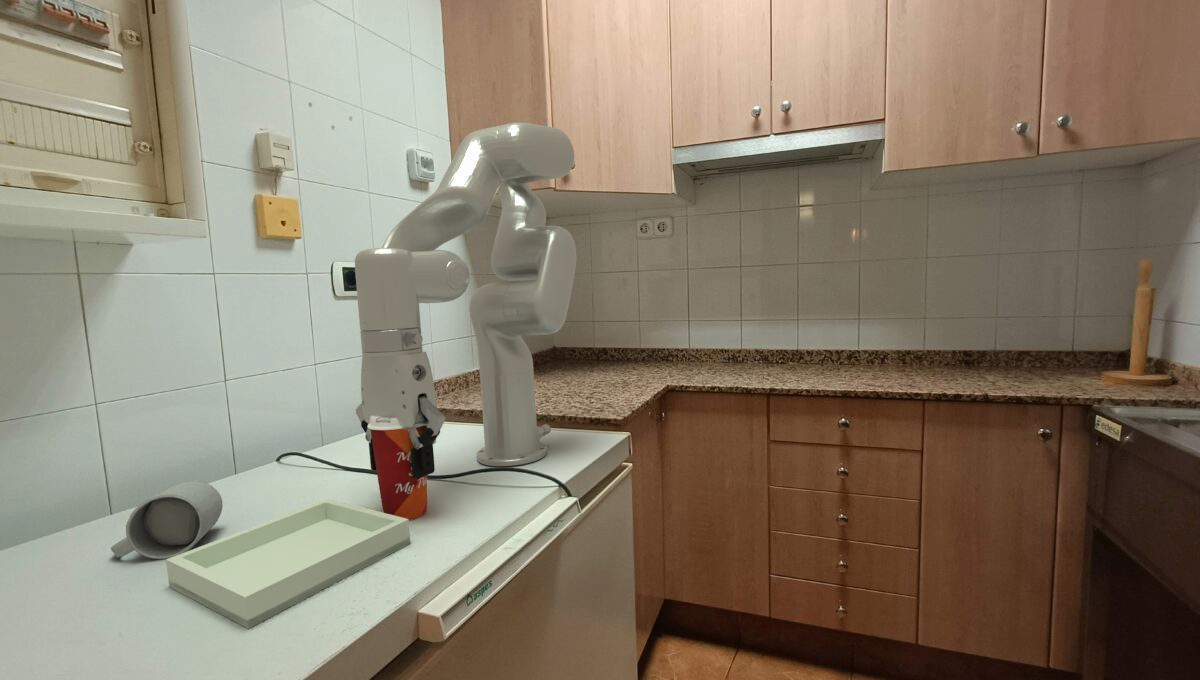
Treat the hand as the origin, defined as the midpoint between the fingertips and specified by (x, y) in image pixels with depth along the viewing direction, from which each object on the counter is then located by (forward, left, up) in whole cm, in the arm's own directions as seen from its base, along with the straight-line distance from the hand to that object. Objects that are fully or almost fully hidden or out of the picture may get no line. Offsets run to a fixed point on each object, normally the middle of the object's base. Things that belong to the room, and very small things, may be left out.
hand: (402, 470), depth 71 cm
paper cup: (0, 0, -6) cm, 6 cm away
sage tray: (+15, 0, -6) cm, 16 cm away
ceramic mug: (+20, -20, -6) cm, 28 cm away
